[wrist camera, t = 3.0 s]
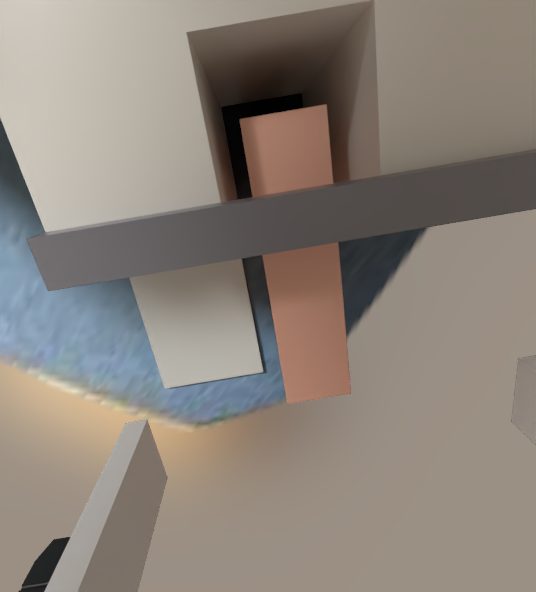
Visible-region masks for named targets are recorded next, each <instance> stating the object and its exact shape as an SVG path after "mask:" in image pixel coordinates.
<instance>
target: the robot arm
mask: <svg viewBox="0 0 536 592" xmlns="http://www.w3.org/2000/svg"><path fill="white" fill-rule="evenodd" d="M511 422H512V423H514V424H515V425H516V426H517V427H518V428H519V429H520V430H521V431H522V432H523V433H524V434H525V435H526V436H527V437H528V438H529V439H530V440H531V441H532V442H533V443H534V444H535V445H536V355H535V356H529V357H523V358H518V367H517V375H516V384H515V393H514V402H513V410H512V419H511ZM166 481H167V475H166V472H165V469H164V466H163V464H162V460H161V458H160V455H159V452H158V449H157V446H156V443H155V440H154V438H153V435H152V432H151V429H150V426H149V423H148V420H141V421H135V422H130V423H125V425H124V428H123V430H122V432H121V434H120V436H119V438H118V440H117V442H116V444H115V446H114V448H113V451H112V452H111V455H110V457H109V459H108V461H107V463H106V465H105V467H104V469H103V471H102V473H101V475H100V477H99V480H98V481H97V484H96V486H95V488H94V490H93V492H92V494H91V496H90V498H89V500H88V502H87V504H86V506H85V509H84V511H83V513H82V515H81V517H80V519H79V521H78V523H77V525H76V527H75V529H74V531H73V533H72V535H71V537H66V538H60V539H54V540H53V541H52V542H51V543H50V544H49V546H48V547H47V548H46V549H45V550H44V552H43V553H42V554H41V555H40V556H39V557H38V559H37V560H36V561H35V562H34V564H33V566H32V568H31V570H30V571H29V573H28V575H27V577H26V579H25V581H24V583H23V584H22V589H21V591H19V592H138V588H139V584H140V580H141V577H142V573H143V569H144V565H145V561H146V557H147V554H148V550H149V546H150V542H151V539H152V534H153V531H154V527H155V523H156V519H157V516H158V512H159V508H160V504H161V500H162V497H163V493H164V489H165V485H166Z"/></svg>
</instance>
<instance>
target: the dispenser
mask: <svg viewBox="0 0 536 592" xmlns="http://www.w3.org/2000/svg"><path fill="white" fill-rule="evenodd" d="M299 93H302V102H303V108H307V107H313V106H319V105H325V104H327V115H328V126H329V138H330V150H331V162H332V174H333V184H327V185H321V186H315V187H310V188H304V189H298V190H292V191H286V192H280V193H274V194H268V195H262V196H256V197H251V198H245V199H239V200H238V197H237V191H236V186H235V180H234V175H233V169H232V164H231V158H230V153H229V148H228V142H227V137H226V131H225V126H224V120H223V115H222V110H221V107H223V106H229V105H234V104H240V103H246V102H252V101H258V100H264V99H270V98H275V97H281V96H287V95H293V94H299ZM0 118H1V121H2V123H3V126H4V129H5V131H6V134H7V136H8V139H9V141H10V144H11V146H12V149H13V151H14V154H15V156H16V159H17V161H18V164H19V167H20V169H21V172H22V174H23V177H24V179H25V182H26V184H27V187H28V189H29V192H30V194H31V197H32V199H33V202H34V204H35V207H36V210H37V212H38V215H39V217H40V220H41V222H42V225H43V227H44V230H45V233H42V234H39V235H36V236H33V237H30V238H27V242H28V244H29V247H30V249H31V251H32V254H33V256H34V259H35V261H36V263H37V266H38V268H39V270H40V273H41V275H42V278H43V280H44V282H45V285H46V287H47V290H48V291H53V290H59V289H64V288H70V287H76V286H82V285H88V284H94V283H100V282H106V281H112V280H118V279H124V278H130V277H136V276H141V275H147V274H153V273H159V272H165V271H171V270H177V269H183V268H189V267H195V266H201V265H207V264H213V263H218V262H224V261H230V260H236V259H242V258H248V257H254V256H260V255H266V254H272V253H278V252H284V251H289V250H295V249H301V248H307V247H313V246H319V245H325V244H331V243H337V242H343V241H349V240H355V239H361V238H366V237H372V236H378V235H384V234H390V233H396V232H402V231H408V230H414V229H420V228H426V227H432V226H437V225H443V224H449V223H455V222H461V221H467V220H473V219H479V218H484V217H491V216H496V215H502V214H508V213H514V212H520V211H526V210H532V209H536V0H0Z"/></svg>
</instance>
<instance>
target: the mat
mask: <svg viewBox="0 0 536 592" xmlns="http://www.w3.org/2000/svg"><path fill="white" fill-rule="evenodd" d="M129 279H130V282H131V285H132V288H133V291H134V294H135V297H136V300H137V304H138V307H139V310H140V313H141V316H142V319H143V322H144V325H145V328H146V332H147V335H148V338H149V341H150V344H151V347H152V350H153V353H154V356H155V360H156V363H157V366H158V369H159V372H160V375H161V378H162V381H163V384H164V388H171V387H177V386H183V385H189V384H195V383H201V382H207V381H213V380H219V379H225V378H231V377H237V376H243V375H249V374H255V373H261V372H263V367H262V361H261V356H260V351H259V346H258V341H257V335H256V330H255V325H254V320H253V314H252V309H251V304H250V299H249V294H248V288H247V283H246V278H245V273H244V268H243V262H242V259H236V260H230V261H224V262H218V263H213V264H207V265H201V266H195V267H189V268H183V269H177V270H171V271H165V272H159V273H153V274H147V275H141V276H136V277H130V278H129Z"/></svg>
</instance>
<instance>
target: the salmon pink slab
mask: <svg viewBox="0 0 536 592" xmlns="http://www.w3.org/2000/svg"><path fill="white" fill-rule="evenodd" d="M239 120H240V126H241V132H242V138H243V144H244V150H245V155H246V161H247V167H248V173H249V179H250V185H251V191H252V197H256V196H262V195H268V194H274V193H280V192H286V191H292V190H298V189H304V188H310V187H315V186H321V185H327V184H333V174H332V162H331V150H330V138H329V126H328V115H327V104H325V105H319V106H313V107H307V108H302V109H296V110H290V111H284V112H278V113H272V114H266V115H261V116H255V117H249V118H243V119H239ZM262 256H263V262H264V268H265V274H266V280H267V286H268V292H269V298H270V304H271V310H272V316H273V321H274V327H275V333H276V339H277V345H278V351H279V357H280V363H281V369H282V375H283V381H284V387H285V393H286V399H287V404H290V403H296V402H302V401H308V400H314V399H320V398H326V397H332V396H338V395H345V394H351V386H350V375H349V363H348V352H347V339H346V327H345V315H344V303H343V292H342V280H341V268H340V256H339V244H338V242H337V243H331V244H325V245H319V246H313V247H307V248H301V249H295V250H289V251H284V252H278V253H272V254H266V255H262Z"/></svg>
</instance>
